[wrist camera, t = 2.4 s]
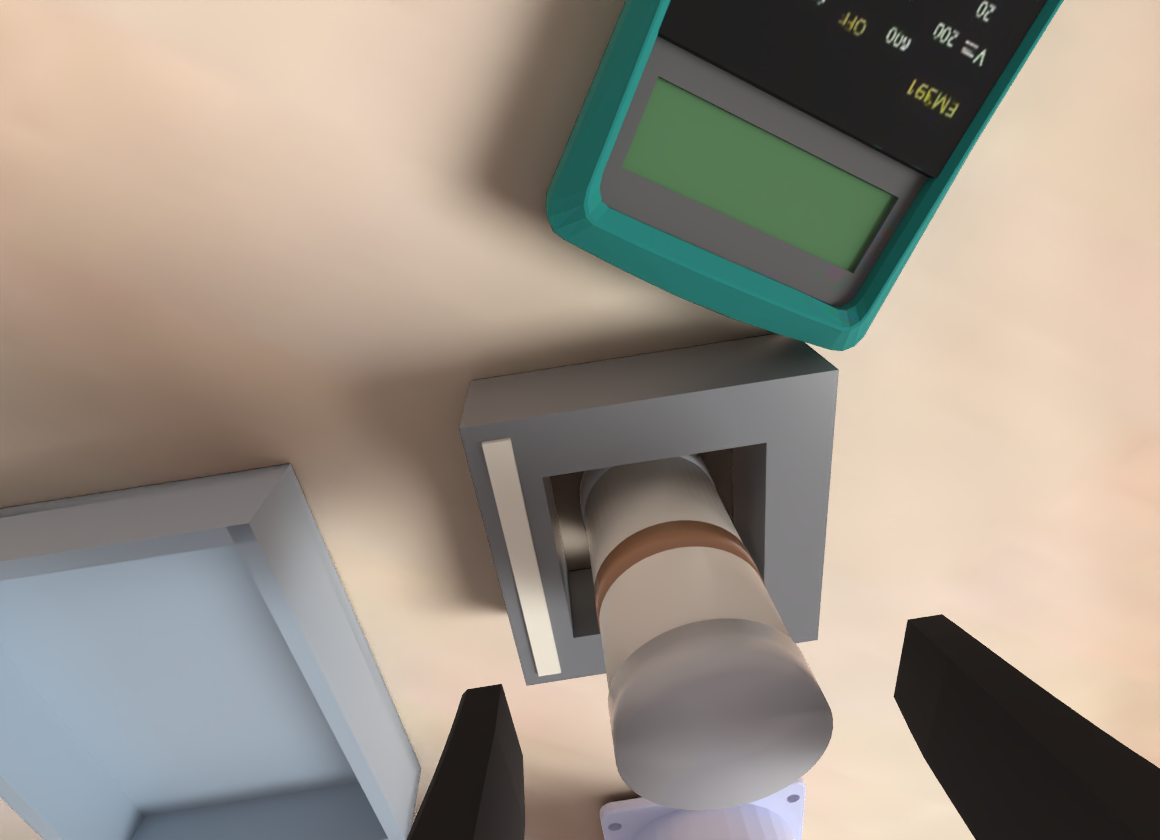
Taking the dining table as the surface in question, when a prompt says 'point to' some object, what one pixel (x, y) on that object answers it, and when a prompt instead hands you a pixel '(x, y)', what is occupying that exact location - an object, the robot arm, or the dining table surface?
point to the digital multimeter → (783, 147)
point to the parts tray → (191, 671)
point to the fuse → (693, 644)
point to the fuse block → (644, 433)
